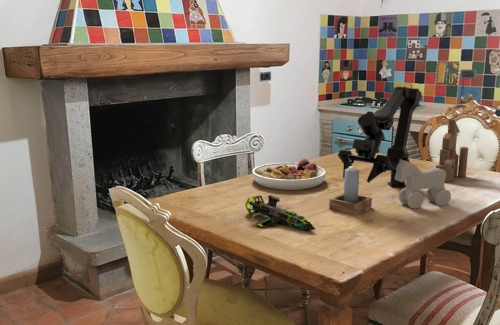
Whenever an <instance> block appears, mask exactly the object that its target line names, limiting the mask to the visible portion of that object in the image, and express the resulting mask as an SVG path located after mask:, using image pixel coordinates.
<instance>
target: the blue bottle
mask: <svg viewBox="0 0 500 325" xmlns="http://www.w3.org/2000/svg"><path fill="white" fill-rule="evenodd" d="M359 183H360V169H358V168H356V166H354V165H352V166H350V167H349V168H348V169H345V178H344V183H343V193H344V201H346V202H350V203H355V204H356V203H358V195H359V187H360V186H359Z"/></svg>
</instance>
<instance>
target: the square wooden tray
mask: <svg viewBox="0 0 500 325" xmlns="http://www.w3.org/2000/svg"><path fill="white" fill-rule="evenodd" d="M372 202H373V199H372V197H371V196H364V195H359V194H358V203H356V204H355V203H350V202H346V201H344V192H343V193H340V194H338V195H336V196H333V197H332V198H329V204H328V206H329V207H328V209H329V210H332V211H338V212H342V213H347V214H351V215H355V216H358V215H359V214H362V213H364V212H365V211H368V210H369V209H371V208H372V204H373V203H372Z"/></svg>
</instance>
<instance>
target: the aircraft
mask: <svg viewBox="0 0 500 325" xmlns="http://www.w3.org/2000/svg"><path fill="white" fill-rule="evenodd" d="M267 198H268V202H266V203H265V200H264V198H263V196H262V195H256V196H252V197H248V198H247V199H246V202H245V206H244V207H245V208H246V210H247V211H248V213H249V215H250V216H252V217H253V216H254V215H253V214H256V213H257V214H261V215H263V216H265V217H263V218H262V219H261V220H258V221H257V222H256V223H255V225H256V226H259V227H266V226H269V225H270V226H272V227H276V224H277V222H278V223H281V224H283V225H285V226H287V227H292V228H293V229H296V230H301V231H306V232H307V231H315V230H317V229H316V228H315V227H314V225H313V224H312V223H311V222H310V221H309V220H308V219H307V218H305V217H304V216H303V215H298V213H296V212H294V211H290V210H286V209H283V208H280V207H278V206H277V204H278V203H281V202H280V197H277V196H274V195H272V194H270V195H267Z"/></svg>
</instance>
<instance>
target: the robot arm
mask: <svg viewBox="0 0 500 325" xmlns="http://www.w3.org/2000/svg"><path fill="white" fill-rule="evenodd" d="M422 96H423V94H422V91H421V90H420V89H419V88H416V87H415V88H414V87H413V88H412V87H407V86H395V87H394V88H393V91H392V93H391V95H390V96H389V98H388V99H387V101H386V102H385V103H384V105H383V107H382V108H380V109H377V110H376V111H375V112H373V111H369V110H367V112H366V113H364V114H362V115H361V116H359V117H358V120H357V123H358V125H359V127H360V129H361V131H362V133H363V135H364V136H365V138H364V139H360V138H359V139H358V138H354V139H353V143H352V147H351V148H352V149H353V150H354V149H355V153H356V154H354V153H353V152H352V150H348V149H340V150H339V152H338V153H337V156H338V158H339V160H340V161H341V164H343V169H342V170H343V171H342V179H345V169H348V168H349V167H350V166H353V164H354V162H361V163H362V162H363V163H368V164H372V167H371V171H370V172H369V174H368V177H367V179H366V182H367V183H368V184H369V183H370V182H372V180H374V179H376V178H377V177H378V176H380V175H381V174H383V173H386V172H387V171H388V172H390V181H388V182H387V185H388V186H390V187H391V188H406V180H405V181H404V182H399V181H397V180H395V175H396V168H397V165H398V164H399V159H401V160H404V161H407V162H410V163H411V160H410V158H409V157H410V155H409V154H410V153H409V151H408V149H407V146H408V145H407V144H408V140H409V139H408V138H409V134H410V128H411V124H412V120H413V119H412V118H413V113H414V111H415V110H416V109H417V108H418V107H419V105H420V102H421V100H422V98H423V97H422ZM399 108H400V109H399ZM398 110H400V111H399V115H398V121H397V126H396V130H395V131H396V132H395V135H394V140H393V141H394V142H393V145H392V146H391V147H388V148H387V151H386V155H385V154H379V153H380V150H379V149H380V146H381V143H382V141H383V142H384V141H385V140H386V137H385V133H384V132H383V131H390V129H392V127H393V125H394V123H395V120H394V116H395V114H396V113H397V111H398Z"/></svg>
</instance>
